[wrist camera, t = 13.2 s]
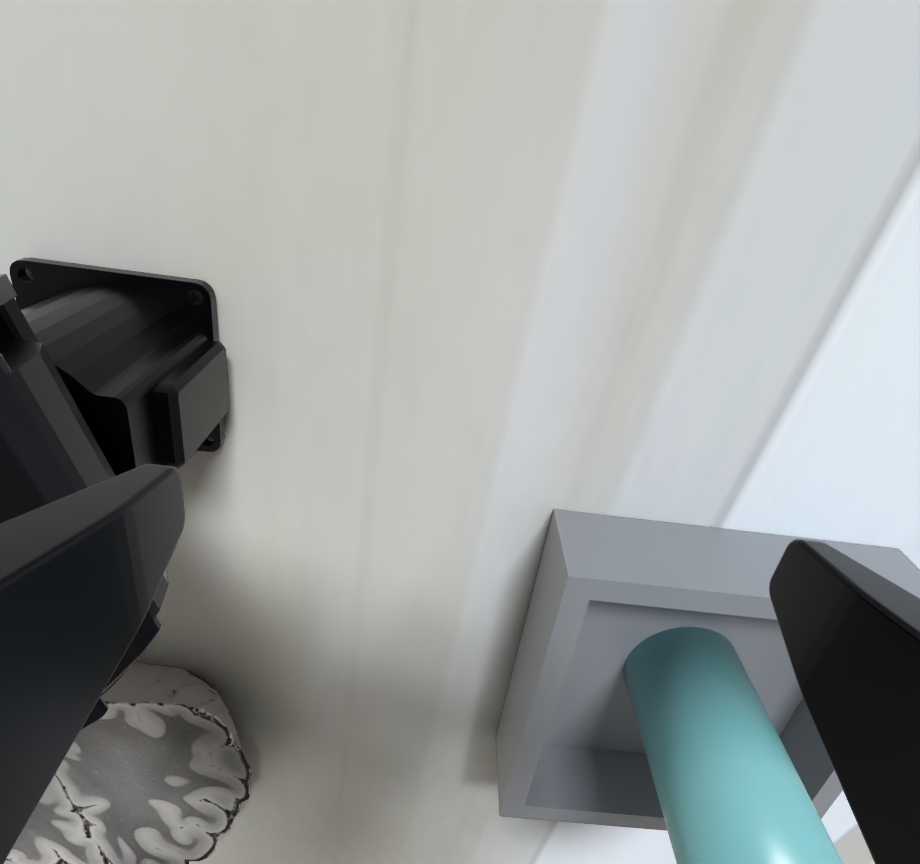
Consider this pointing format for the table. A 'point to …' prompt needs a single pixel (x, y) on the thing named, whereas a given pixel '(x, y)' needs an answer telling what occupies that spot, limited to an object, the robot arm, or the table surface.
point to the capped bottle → (719, 756)
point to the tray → (614, 637)
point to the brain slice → (143, 778)
